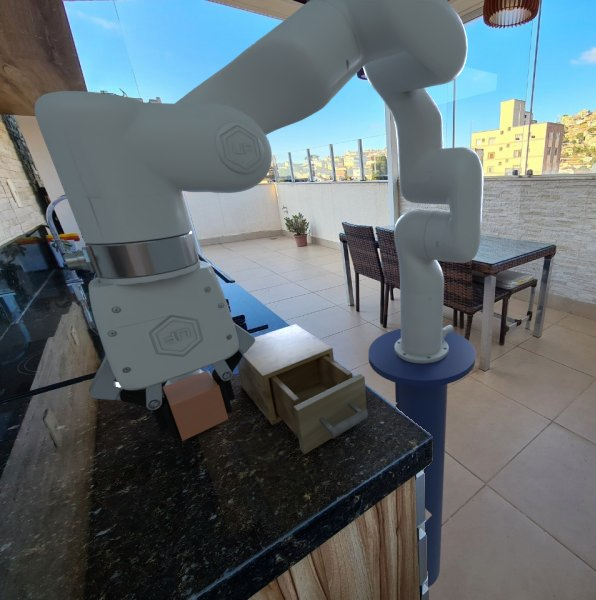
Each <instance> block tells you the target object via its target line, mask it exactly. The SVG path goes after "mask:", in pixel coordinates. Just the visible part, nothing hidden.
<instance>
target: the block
mask: <svg viewBox="0 0 596 600" xmlns="http://www.w3.org/2000/svg"><path fill="white" fill-rule="evenodd" d="M203 371H204V372H202V373H199V374H196V375H194V376H191V377H188V378H185V379H183V380H180V381H177V382H175V383H172V384H169V385H166V386H164V387H163V390H164V393H165V395H166V398H167V400H168V403H169V405H170V408H171V411H172V413H173V416H174V419H175V422H176V424H177V427H178V430H179V433H180V434H179V436H180V438H181V441H183V442H184V441H185V440H188V439H190V438H192V437H194V436H196V435H198V434H202V432H205V431H207V430H209V429H211V428H213V427H215V426H217V425H220V424H222V423H223V422H226V421H228V420H229V415H228V413H227V412H226V408H225V405H224V401H223V398H222V394H221V391H220V387H219V385H218V384H217V383H216V381H215V380H214V378H213V377H212V373H211V372H210V370H203Z"/></svg>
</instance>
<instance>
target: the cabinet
mask: <svg viewBox="0 0 596 600" xmlns="http://www.w3.org/2000/svg"><path fill="white" fill-rule="evenodd" d="M253 337H254V338H255V343H254V344H253V345H252V346H251V347H250V348H249V349H248V351H247V352H246V353H244V354H243V355H242V359H241V360H240V362H239V363H238V365H237V366H236V367H237V371H238V375H239V379H240V383H241V387H242V389H243V390H244V391H245V393H246V394H247V395H248V396H249V397H250V399H251V400H252V402H253V403H254V404H255V406H257V408H258V409H259V410H260V411H261V413H262V414H263V415H264V417H265V418H266V419H267V420H268V422H269V423H270V424H271V426H274V425H276V424H277V423H280V422H282V421H283V420H282V418H281V417H280V416H279V415H278V414H277V413H276V411H275V410H274V405H273V400H272V395H271V389H270V384H269V379H268V378H270V377H273V376H275V375H277V374H280V373H282V372H285V371H287V370H290V369H292V368H294V367H297V366H299V365H302V364H304V363H307V362H309V361H311V360H314V359H316V358H319V357H321V356H324V355H326V356H328V357H329V358H331V359H332V360H333V361H335V358H334V348H333V347H332V346H330V345H329V344H327V343H326V342H325V341H322V340H321V339H319V337H316V336H314V335H313V334H312V333H310V332H308V331H307V330H305V329H304V328H302V327H301V326H299V325H298V324H296V323H294V324H292V325H289V326H285V327H282V328H278V329H276V330H273V331H270V332H267V333H264V334H260V335H257V336H253Z"/></svg>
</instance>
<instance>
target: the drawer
mask: <svg viewBox="0 0 596 600" xmlns="http://www.w3.org/2000/svg"><path fill="white" fill-rule="evenodd" d="M268 379H269V384H270V389H271V395H272V400H273V405H274V410H275V411H276V413H277V414H278V415H279V416H280V417H281V418H282V421H283V422H284V423H285V425H286V426H287V427H288V428H289V429H290V430H291V432H292V433H293V434H294V435H295V436H296V437H297V439H298V442H299V449H300V452H302V454H303V455H306V454H308V453H310V452H311V451H313V450H315V449H316V448H318V447H319V446H321V445H323V444H324V443H325V442H327V441H329V440H331V439H336V438H337V437H339V436H341V435H342V434H344V433H346V432H347V431H348V430H350V429H352V428H353V427H355V426H356V425H358V424H360V423H361V422H363V421H365V420H367V419H368V418H369V413H368V410H367V409H368V408H367V395H366V378H365V376H364V375H362V374H361V373H359V374H357V375H355V376H353V373H352V372H351V371H349V370H348V369H346V368H345V367H344V366H343V365H341V364H339V363H338V362H336V361H335V360H334V361H333V360H332V359H331V358H329V357H328V356H326V355H324V356H321V357H319V358H316V359H314V360H311V361H309V362H307V363H304V364H302V365H299V366H297V367H294V368H292V369H290V370H287V371H285V372H282V373H280V374H277V375H275V376H273V377H270V378H268Z"/></svg>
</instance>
